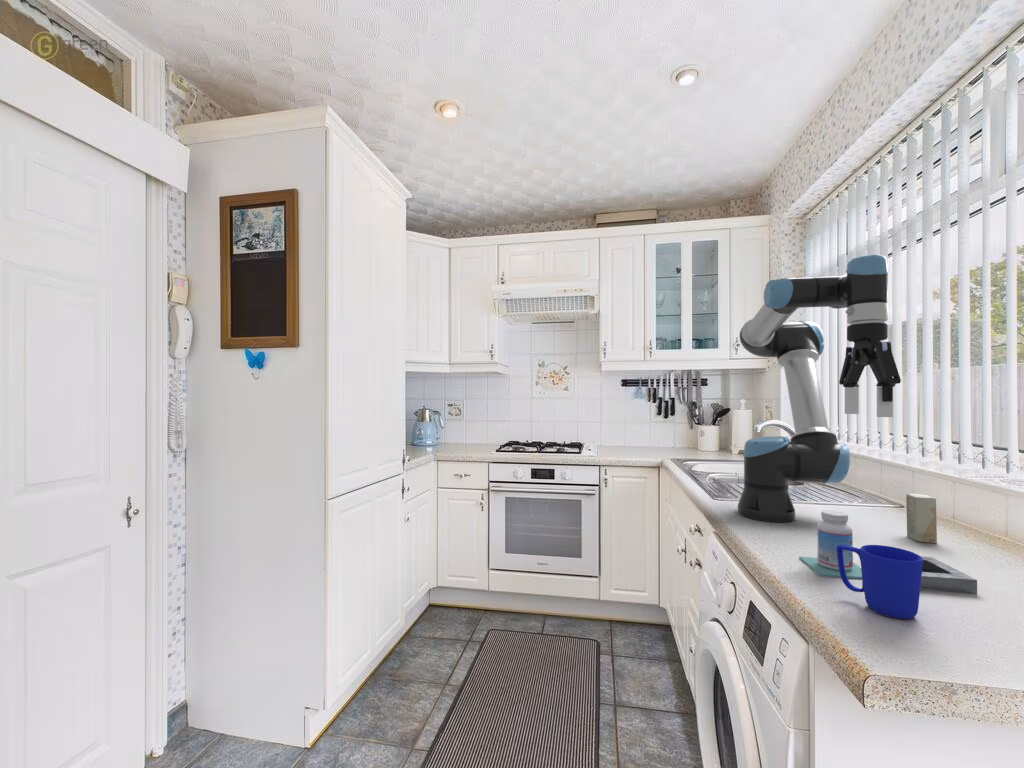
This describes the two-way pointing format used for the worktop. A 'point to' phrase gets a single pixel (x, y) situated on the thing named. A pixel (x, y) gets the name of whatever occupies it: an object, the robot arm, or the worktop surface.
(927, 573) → the grey square frame
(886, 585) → the mug
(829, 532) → the pill bottle
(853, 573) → the mat
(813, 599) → the worktop surface
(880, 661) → the worktop surface
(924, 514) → the box
